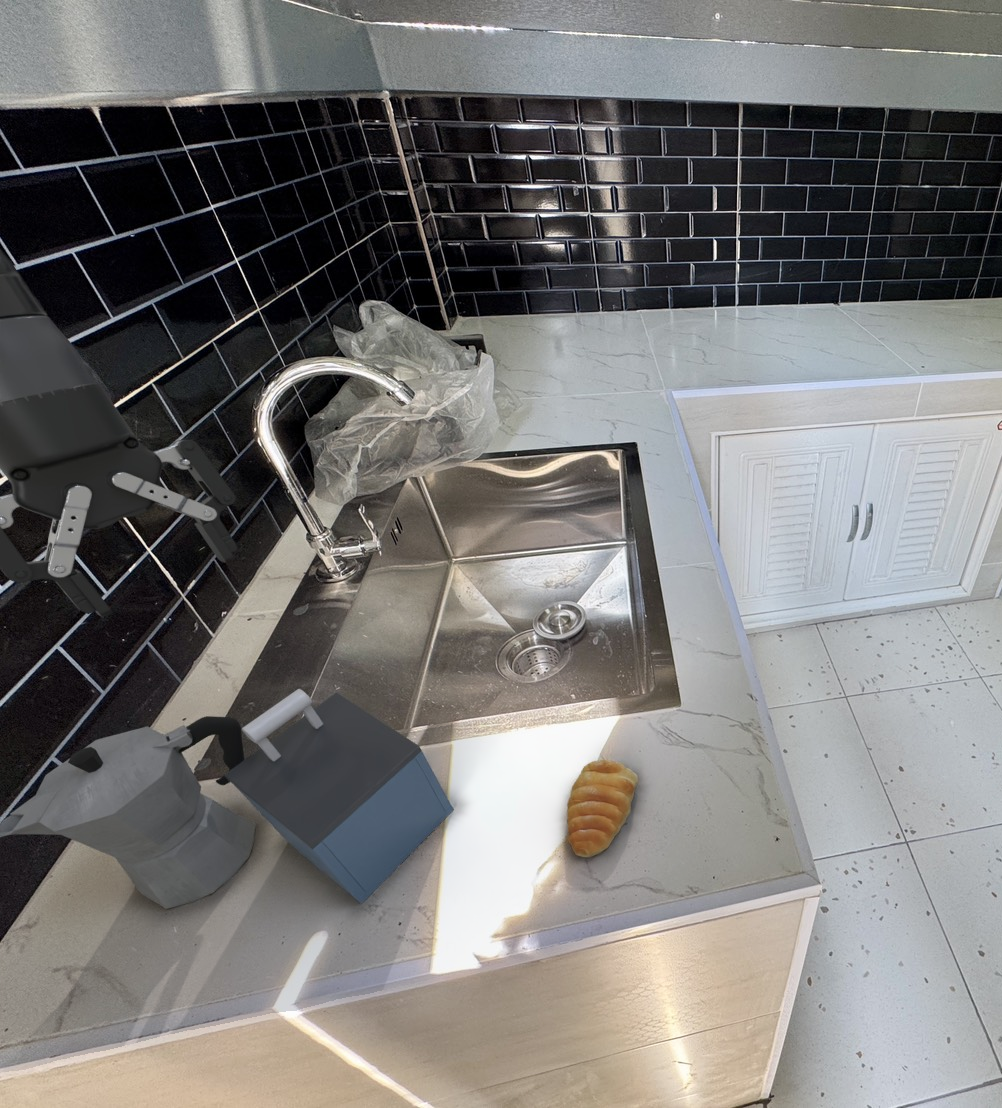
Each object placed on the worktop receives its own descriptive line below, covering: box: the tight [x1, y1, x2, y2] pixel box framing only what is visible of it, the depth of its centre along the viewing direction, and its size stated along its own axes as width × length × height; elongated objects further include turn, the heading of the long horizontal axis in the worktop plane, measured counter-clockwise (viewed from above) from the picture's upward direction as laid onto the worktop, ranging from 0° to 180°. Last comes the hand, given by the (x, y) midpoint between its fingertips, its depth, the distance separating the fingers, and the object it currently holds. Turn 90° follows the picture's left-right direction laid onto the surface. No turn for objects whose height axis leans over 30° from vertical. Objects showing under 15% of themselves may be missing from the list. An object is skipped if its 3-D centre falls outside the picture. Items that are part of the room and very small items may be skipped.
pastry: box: [566, 759, 639, 858], centre depth 62 cm, size 9×7×4 cm
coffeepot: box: [0, 715, 256, 910], centre depth 54 cm, size 15×9×18 cm, turn 136°
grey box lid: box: [223, 688, 423, 849], centre depth 53 cm, size 12×11×6 cm
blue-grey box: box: [233, 750, 455, 905], centre depth 58 cm, size 12×11×11 cm
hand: (169, 585), depth 50 cm, fingers open, 8 cm apart
